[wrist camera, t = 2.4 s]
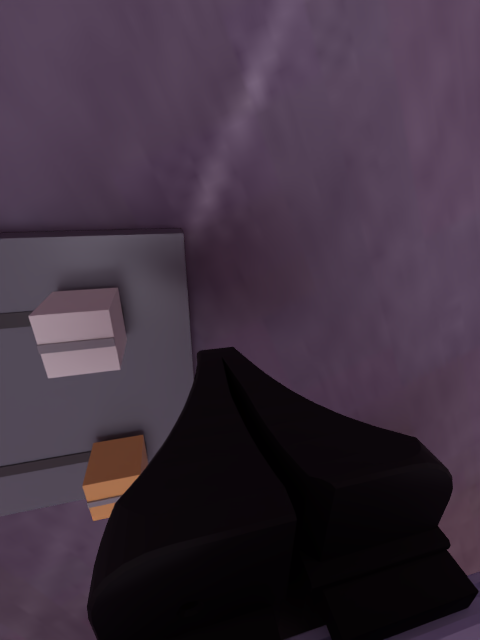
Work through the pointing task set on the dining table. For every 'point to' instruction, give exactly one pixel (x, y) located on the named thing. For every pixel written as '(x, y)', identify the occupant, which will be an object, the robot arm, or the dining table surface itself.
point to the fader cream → (80, 332)
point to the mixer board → (94, 388)
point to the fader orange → (112, 472)
